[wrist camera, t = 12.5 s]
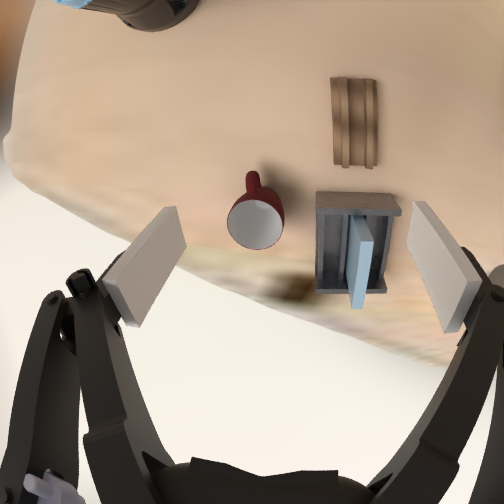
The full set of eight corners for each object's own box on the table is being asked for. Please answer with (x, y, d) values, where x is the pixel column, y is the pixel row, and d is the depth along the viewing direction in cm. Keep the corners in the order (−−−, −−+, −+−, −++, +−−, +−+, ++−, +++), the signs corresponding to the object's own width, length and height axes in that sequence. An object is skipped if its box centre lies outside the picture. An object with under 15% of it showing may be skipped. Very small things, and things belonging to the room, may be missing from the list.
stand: (330, 78, 35) (332, 77, 33) (374, 80, 34) (379, 80, 31) (333, 163, 42) (335, 168, 40) (375, 164, 41) (379, 169, 39)
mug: (229, 171, 46) (211, 191, 38) (274, 157, 44) (267, 175, 35) (250, 224, 51) (238, 254, 43) (293, 214, 49) (290, 243, 40)
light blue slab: (348, 205, 45) (360, 241, 35) (359, 205, 44) (373, 241, 34) (344, 264, 51) (351, 308, 41) (353, 264, 51) (362, 308, 41)
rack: (315, 191, 46) (317, 208, 40) (389, 193, 43) (401, 210, 37) (315, 270, 54) (315, 293, 48) (379, 270, 51) (386, 293, 46)
